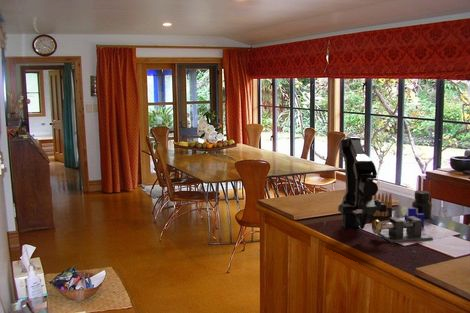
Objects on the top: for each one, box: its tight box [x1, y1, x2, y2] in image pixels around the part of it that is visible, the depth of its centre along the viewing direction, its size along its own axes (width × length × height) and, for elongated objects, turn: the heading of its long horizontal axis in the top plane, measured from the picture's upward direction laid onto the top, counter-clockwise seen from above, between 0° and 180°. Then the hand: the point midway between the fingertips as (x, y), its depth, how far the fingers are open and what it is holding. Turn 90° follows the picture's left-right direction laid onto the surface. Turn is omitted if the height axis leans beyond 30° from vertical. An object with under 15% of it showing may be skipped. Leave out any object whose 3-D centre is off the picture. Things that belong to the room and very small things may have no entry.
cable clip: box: [404, 207, 425, 228], centre depth 229 cm, size 12×4×6 cm, turn 0°
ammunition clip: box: [368, 192, 393, 220], centre depth 238 cm, size 11×2×12 cm, turn 89°
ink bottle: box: [411, 190, 433, 220], centre depth 240 cm, size 10×9×12 cm
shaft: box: [371, 219, 413, 235], centre depth 208 cm, size 16×6×6 cm, turn 101°
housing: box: [378, 216, 434, 243], centre depth 209 cm, size 18×12×8 cm, turn 101°
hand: (362, 228), depth 205 cm, fingers closed
